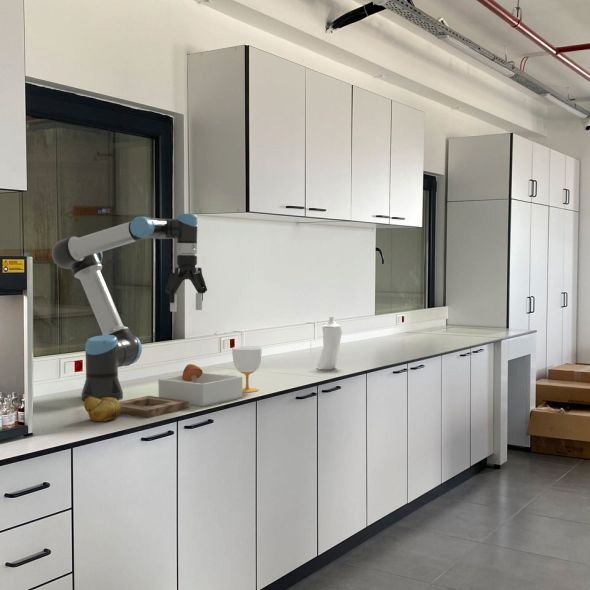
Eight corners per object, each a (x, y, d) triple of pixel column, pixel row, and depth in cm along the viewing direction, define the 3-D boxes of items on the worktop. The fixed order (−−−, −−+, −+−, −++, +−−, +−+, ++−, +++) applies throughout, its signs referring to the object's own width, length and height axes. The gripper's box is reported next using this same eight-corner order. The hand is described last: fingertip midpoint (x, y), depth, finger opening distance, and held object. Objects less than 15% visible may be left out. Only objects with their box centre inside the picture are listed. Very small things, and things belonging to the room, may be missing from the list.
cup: (228, 389, 304) (228, 347, 304) (255, 387, 309) (255, 345, 308) (238, 393, 293) (237, 350, 293) (266, 391, 298) (265, 348, 297)
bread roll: (109, 414, 255) (109, 390, 255) (131, 417, 250) (131, 393, 250) (81, 421, 244) (80, 396, 244) (103, 424, 239) (102, 399, 239)
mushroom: (204, 402, 287) (192, 370, 295) (214, 390, 282) (202, 358, 290) (186, 402, 282) (175, 370, 290) (196, 390, 277) (184, 357, 285)
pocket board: (147, 417, 248) (147, 410, 248) (106, 411, 260) (106, 404, 259) (189, 408, 264) (189, 401, 264) (148, 402, 276) (148, 395, 276)
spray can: (336, 366, 372) (336, 315, 371) (344, 369, 362) (344, 317, 361) (314, 367, 368) (313, 316, 367) (321, 370, 358) (321, 317, 357)
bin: (203, 406, 267) (203, 384, 266) (158, 400, 279) (158, 379, 279) (242, 397, 285) (242, 376, 284) (198, 392, 297) (198, 372, 297)
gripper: (170, 254, 273) (169, 312, 274) (216, 255, 293) (215, 309, 294) (155, 254, 277) (155, 311, 278) (202, 255, 297) (201, 308, 298)
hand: (186, 310), depth 286 cm, fingers open, 13 cm apart
